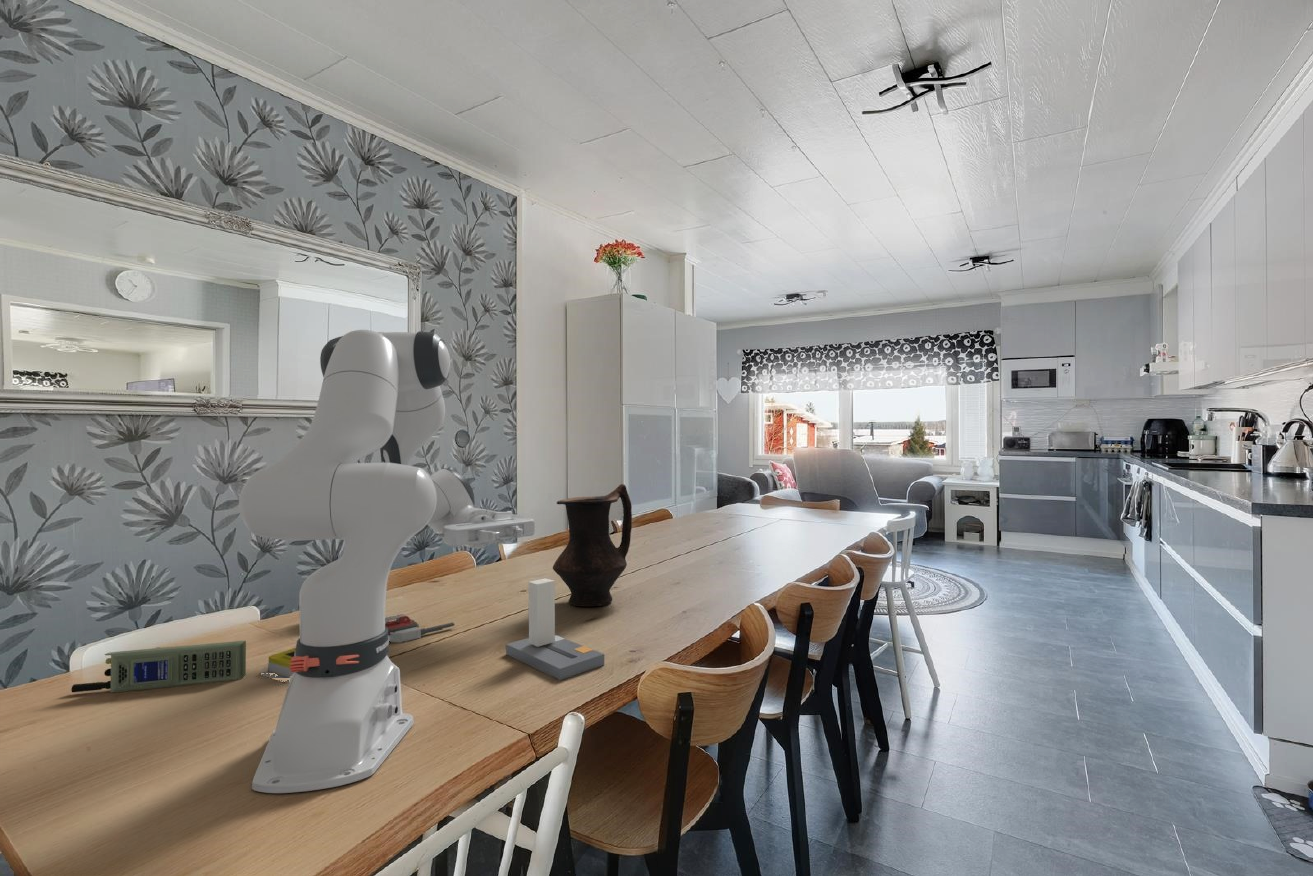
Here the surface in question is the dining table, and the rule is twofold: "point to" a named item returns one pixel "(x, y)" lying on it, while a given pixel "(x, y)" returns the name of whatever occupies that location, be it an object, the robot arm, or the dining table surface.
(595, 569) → the jug
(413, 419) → the robot arm
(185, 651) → the handheld radio
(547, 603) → the switch tab
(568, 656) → the switch panel
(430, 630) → the walkie-talkie
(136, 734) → the dining table surface
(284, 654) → the emergency button
